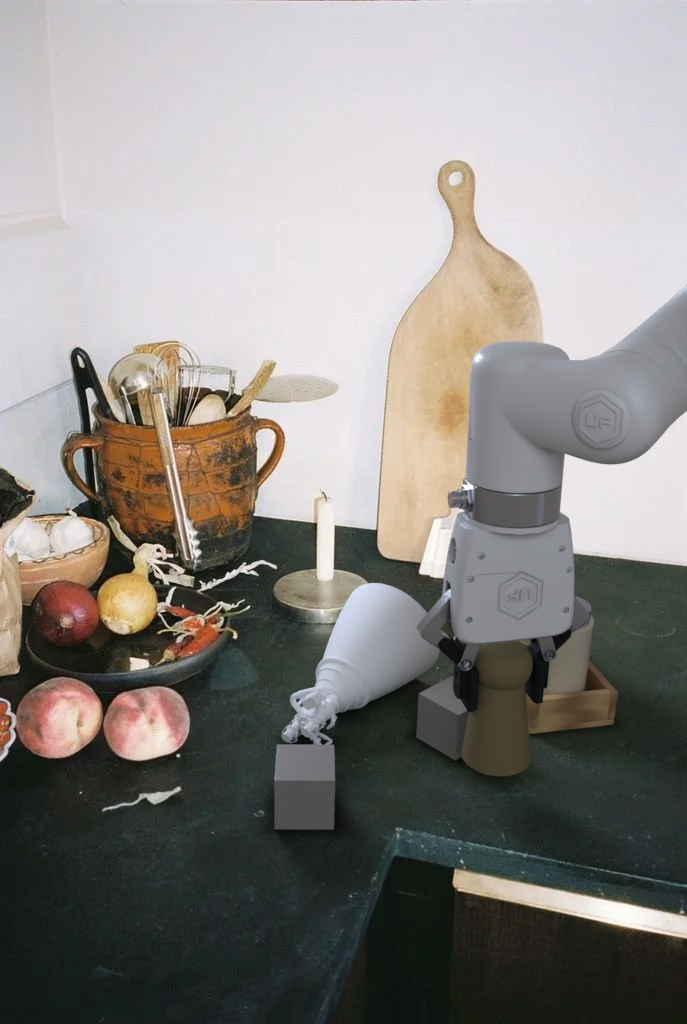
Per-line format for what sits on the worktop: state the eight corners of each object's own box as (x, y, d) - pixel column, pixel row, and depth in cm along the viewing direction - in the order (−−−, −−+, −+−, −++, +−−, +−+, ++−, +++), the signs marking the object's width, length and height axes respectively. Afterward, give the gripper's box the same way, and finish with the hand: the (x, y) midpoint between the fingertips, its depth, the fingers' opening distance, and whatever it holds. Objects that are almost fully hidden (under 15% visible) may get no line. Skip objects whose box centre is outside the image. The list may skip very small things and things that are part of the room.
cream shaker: (593, 712, 95) (606, 616, 91) (538, 718, 94) (549, 620, 90) (567, 681, 101) (579, 589, 97) (515, 687, 99) (525, 593, 95)
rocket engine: (288, 673, 83) (391, 567, 96) (226, 704, 92) (329, 603, 104) (367, 773, 84) (460, 655, 96) (299, 794, 92) (393, 684, 105)
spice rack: (516, 609, 118) (519, 581, 116) (613, 724, 94) (618, 692, 93) (447, 615, 116) (449, 587, 114) (529, 734, 92) (532, 701, 91)
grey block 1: (334, 829, 79) (335, 780, 77) (274, 829, 79) (274, 780, 77) (333, 791, 83) (334, 744, 82) (277, 791, 83) (277, 744, 81)
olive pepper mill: (459, 772, 80) (465, 659, 76) (462, 733, 86) (467, 625, 82) (531, 779, 79) (540, 665, 75) (529, 739, 85) (538, 630, 81)
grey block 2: (488, 740, 91) (492, 695, 89) (455, 760, 88) (458, 715, 86) (449, 718, 95) (452, 675, 93) (415, 737, 91) (418, 693, 90)
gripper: (422, 526, 69) (416, 736, 75) (634, 508, 72) (611, 711, 79) (395, 493, 76) (392, 688, 82) (590, 479, 79) (572, 667, 86)
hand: (499, 697), depth 80 cm, fingers closed on olive pepper mill, 5 cm apart
